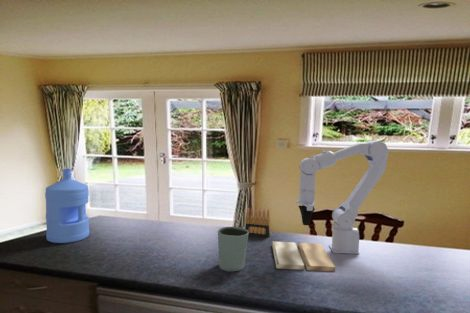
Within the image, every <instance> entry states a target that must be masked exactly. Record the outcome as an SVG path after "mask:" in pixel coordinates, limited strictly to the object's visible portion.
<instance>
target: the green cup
mask: <svg viewBox="0 0 470 313" xmlns="http://www.w3.org/2000/svg"><path fill="white" fill-rule="evenodd" d="M248 234H249V232H248V230H246V229H245V228H243V227H239V226H224V227H220V228H219V229H218V230H217V243H218V245H217V246H218V267H219V269H220V270H223V271H225V272H238V271H241V270H243V269H244V268H245V267H246V266H245V264H246V255H247V246H248V241H249V240H248V239H249V235H248Z"/></svg>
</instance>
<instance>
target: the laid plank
mask: <svg viewBox="0 0 470 313" xmlns="http://www.w3.org/2000/svg"><path fill="white" fill-rule="evenodd" d="M297 248H298V251H299V253H300V256H301V258H302V261H303V263H304V267H305V268H306V271H320V272H321V271H323V272H327V271H328V272H335V271H336V266H335V264H334V262H333V261H332V259H331V258H330V256H329V254H328V253H327V252H326V250H325V248H324V246H323V245H322V243H315V242H314V243H313V242H312V243H311V242H310V243H309V242H297Z"/></svg>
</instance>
